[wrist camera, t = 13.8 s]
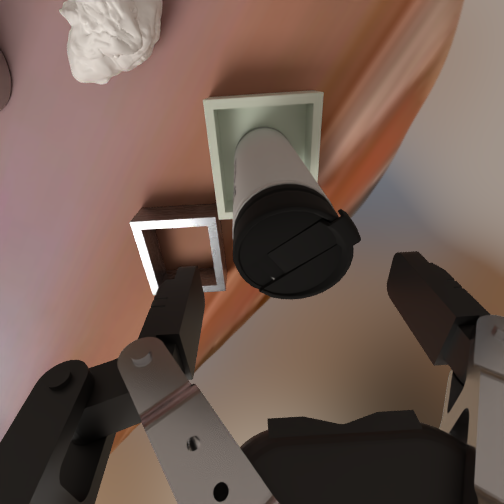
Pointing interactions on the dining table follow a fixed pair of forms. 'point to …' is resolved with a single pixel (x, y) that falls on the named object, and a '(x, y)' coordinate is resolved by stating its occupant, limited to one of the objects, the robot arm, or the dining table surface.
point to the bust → (110, 36)
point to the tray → (253, 116)
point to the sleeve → (176, 218)
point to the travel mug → (285, 221)
